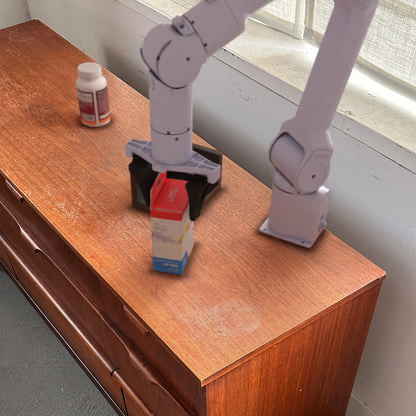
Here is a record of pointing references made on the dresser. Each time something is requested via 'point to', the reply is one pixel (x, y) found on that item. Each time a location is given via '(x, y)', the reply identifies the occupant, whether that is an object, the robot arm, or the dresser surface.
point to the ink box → (170, 225)
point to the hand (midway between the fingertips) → (172, 210)
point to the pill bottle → (92, 95)
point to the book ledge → (181, 178)
